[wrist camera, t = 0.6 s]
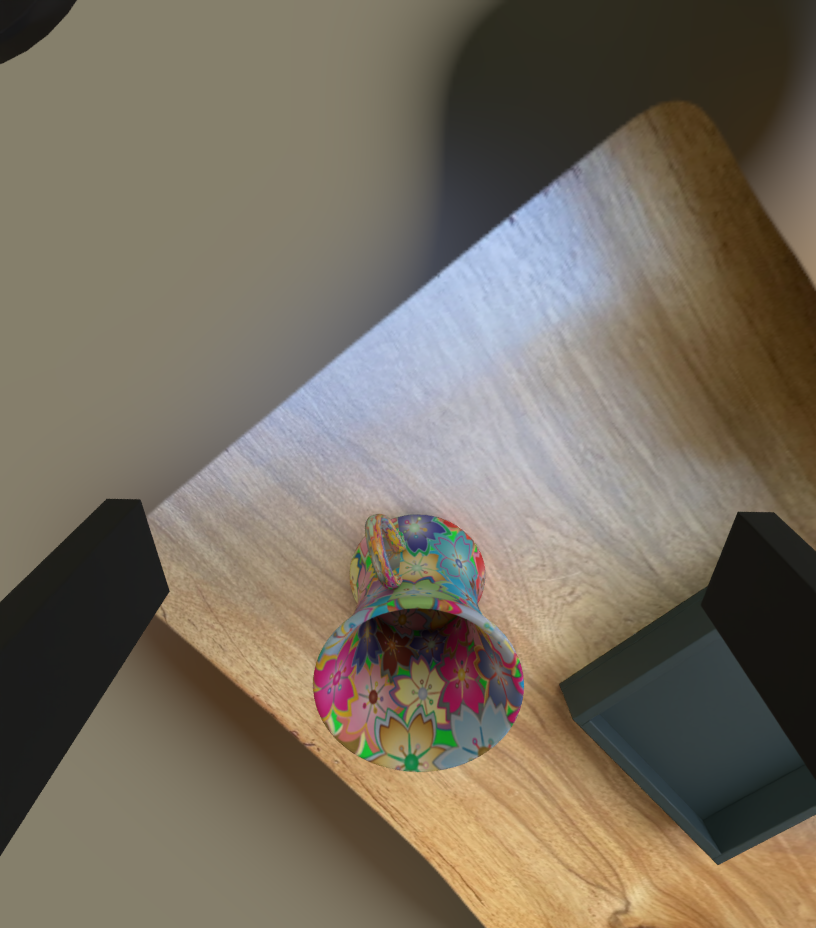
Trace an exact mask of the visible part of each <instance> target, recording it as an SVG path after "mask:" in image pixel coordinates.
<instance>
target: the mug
mask: <svg viewBox="0 0 816 928" xmlns="http://www.w3.org/2000/svg"><path fill="white" fill-rule="evenodd" d="M350 585H351V589H352V593H353V596H354V598H355V600H356V602H357V604H358V605H357V608H356V611H355V613H354V614H353V615H352V617H350V618H349V619H348V620H347V621H345V622H344V623H343V624H342V625H341V626H340V627H339V628H337V629H336V630H335V632H334V633H333V634H332V635H331V636H330V638H329V639H328V640H327V642H326V643H325V645H324V646H323V648H322V650H321V652H320V654H319V657H318V660H317V662H316V666H315V670H314V677H313V692H314V699H315V703H316V707H317V710H318V712H319V715H320V717H321V719H322V721H323V723H324V724H325V726H326V727H327V729H328V730H329V731H330V733H331V734H332V735H333V736H334V737H335V738H336V739H337V740H338V741H339V742H340V743H341V744H342V745H343V746H344V747H345V748H347V749H348V750H350V751H351V752H352V753H354V754H356V755H357V756H359V757H361V758H363V759H365V760H367V761H369V762H371V763H374V764H377V765H379V766H383V767H386V768H390V769H395V770H400V771H409V772H429V771H438V770H444V769H448V768H452V767H456V766H459V765H462V764H465V763H467V762H469V761H472V760H474V759H475V758H477V757H479V756H481V755H483V754H484V753H486V752H487V751H489V750H490V749H491V748H492V747H494V746H495V745H496V744H497V743H498V742H499V741H500V740H501V739H502V738H503V737H504V736H505V735H506V734H507V732H508V731H509V730H510V728H511V727H512V725H513V723H514V722H515V720H516V718H517V716H518V713H519V711H520V707H521V704H522V700H523V693H524V679H523V672H522V667H521V664H520V661H519V658H518V656H517V654H516V652H515V649H514V648H513V646H512V644H511V643H510V641H509V640H508V639H507V637H506V636H505V635H504V634H503V633H502V632H501V631H500V630H499V629H498V627H497V626H495V625H494V624H493V623H492V622H491V621H489V620H488V619H487V618H485V617H484V616H483V615H482V613H481V612H480V610H479V607H478V602H479V600H480V598H481V596H482V593H483V589H484V585H485V566H484V561H483V558H482V555H481V553H480V551H479V549H478V547H477V546H476V544H475V543H474V542H473V540H472V539H471V538H470V537H469V536H468V535H467V534H466V533H465V532H464V531H463V530H462V529H460V528H459V527H457V526H456V525H454V524H452V523H451V522H448V521H446V520H444V519H441V518H438V517H433V516H428V515H407V516H401V517H397V518H394V519H391V520H390V519H389V518H388V517H387V516H385V515H383V514H376V515H373V516H370V517H369V518H368V519H367V521H366V524H365V537H364V539H363V540H362V541H361V542H360V544H359V545H358V547H357V549H356V551H355V553H354V555H353V558H352V561H351V565H350Z"/></svg>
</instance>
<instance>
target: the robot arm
mask: <svg viewBox="0 0 816 928" xmlns="http://www.w3.org/2000/svg"><path fill="white" fill-rule="evenodd" d="M169 592H170V591H169V588H168V585H167V581H166V578H165V575H164V572H163V569H162V566H161V563H160V559H159V556H158V553H157V550H156V547H155V544H154V540H153V537H152V534H151V531H150V528H149V525H148V522H147V518H146V515H145V512H144V509H143V506H142V503H141V500H137V499H134V500H133V499H106V500H105V501H104V502H103V503H102V504H101V505H100V506H99V507H98V508H97V509H96V510H95V511H94V512H93V513H92V514H91V515H90V516H89V517H88V518H87V519H86V520H85V521H84V522H83V523H82V524H80V525H79V527H77V528H76V529H75V530H74V531H73V532H72V533H71V534H70V535H69V536H68V537H67V538H66V539H65V540H64V541H63V542H62V543H61V544H60V545H59V546H58V547H57V548H56V549H55V550H54V551H53V552H51V554H50V555H48V556H47V557H46V558H45V559H44V560H43V561H42V562H41V563H40V564H39V565H38V566H37V567H36V568H35V569H34V570H33V571H32V572H31V573H30V574H29V575H28V576H27V577H26V578H25V579H24V580H23V581H21V582H20V583H19V584H18V585H17V586H16V587H15V588H14V589H13V590H12V591H11V592H10V593H9V594H8V595H7V596H6V597H5V598H4V599H3V600H2V601H1V602H0V856H1V854H2V853H3V851H4V849H5V848H6V846H7V845H8V843H9V842H10V840H11V838H12V837H13V835H14V834H15V832H16V831H17V829H18V828H19V826H20V824H21V823H22V821H23V820H24V818H25V817H26V815H27V813H28V812H29V810H30V809H31V807H32V805H33V804H34V803H35V800H36V799H37V798H38V796H39V795H40V793H41V792H42V790H43V788H44V787H45V785H46V784H47V782H48V780H49V779H50V778H51V776H52V774H53V773H54V771H55V770H56V768H57V766H58V765H59V763H60V762H61V760H62V759H63V757H64V755H65V754H66V753H67V751H68V749H69V748H70V746H71V745H72V743H73V742H74V740H75V738H76V737H77V735H78V734H79V732H80V731H81V729H82V727H83V726H84V724H85V723H86V721H87V720H88V718H89V717H90V715H91V713H92V712H93V710H94V709H95V707H96V706H97V704H98V702H99V701H100V699H101V698H102V696H103V695H104V693H105V692H106V690H107V688H108V687H109V685H110V684H111V682H112V681H113V679H114V677H115V676H116V674H117V673H118V671H119V670H120V668H121V667H122V665H123V663H124V662H125V660H126V659H127V657H128V656H129V654H130V652H131V651H132V649H133V647H134V646H135V645H136V643H137V641H138V640H139V638H140V637H141V635H142V634H143V632H144V631H145V629H146V627H147V626H148V624H149V623H150V621H151V620H152V618H153V617H154V615H155V613H156V612H157V610H158V609H159V607H160V606H161V604H162V602H163V601H164V599H165V598H166V596H167V595H168V593H169ZM701 607H702V608H703V610H704V611H705V613H706V614H707V616H708V617H709V619H710V620H711V622H712V623H713V625H714V626H715V628H716V630H717V631H718V633H719V634H720V636H721V637H722V639H723V640H724V642H725V643H726V645H727V646H728V648H729V649H730V651H731V652H732V654H733V655H734V657H735V658H736V660H737V661H738V663H739V664H740V666H741V668H742V669H743V671H744V672H745V674H746V675H747V677H748V678H749V680H750V681H751V683H752V684H753V686H754V687H755V689H756V690H757V692H758V693H759V695H760V696H761V698H762V699H763V701H764V702H765V704H766V705H767V707H768V709H769V710H770V712H771V713H772V715H773V716H774V718H775V719H776V721H777V722H778V724H779V725H780V727H781V728H782V730H783V731H784V733H785V734H786V736H787V737H788V739H789V740H790V742H791V743H792V745H793V747H794V748H795V750H796V751H797V753H798V754H799V756H800V757H801V759H802V760H803V762H804V763H805V765H806V766H807V768H808V769H809V771H810V772H811V774H812V775H813V777H814V778H815V780H816V551H815V550H814V549H813V548H812V547H811V546H809V545H808V544H807V543H806V542H805V541H804V540H803V539H802V538H801V537H800V536H799V535H798V534H797V533H795V532H794V531H793V530H792V529H791V528H790V527H789V526H788V525H787V524H786V523H785V522H784V521H783V520H782V519H780V518H779V517H778V516H777V515H776V514H775V513H774V512H738V513H737V515H736V518H735V520H734V523H733V525H732V528H731V530H730V533H729V535H728V538H727V540H726V542H725V545H724V547H723V550H722V552H721V555H720V557H719V560H718V562H717V565H716V567H715V570H714V572H713V575H712V577H711V580H710V582H709V585H708V587H707V590H706V592H705V595H704V597H703V600H702V602H701Z"/></svg>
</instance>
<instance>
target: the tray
mask: <svg viewBox="0 0 816 928" xmlns="http://www.w3.org/2000/svg"><path fill="white" fill-rule="evenodd" d="M707 587H708V586H707ZM707 587H706V588H704V589H703V590H701V591H700V592H698V593H697V594H695V595H694V596H692V597H691V598H689V599H687V600H686V601H684V602H683V603H681V604H680V605H678V606H677V607H675V608H674V609H672V610H671V611H669V612H668V613H666V614H665V615H663V616H662V617H660V618H659V619H657V620H656V621H654V622H653V623H651V624H650V625H648V626H647V627H645V628H644V629H642V630H641V631H639V632H637V633H636V634H634V635H633V636H631V637H630V638H628V639H627V640H625V641H624V642H622V643H621V644H619V645H618V646H616V647H615V648H613V649H612V650H610V651H609V652H607V653H606V654H604V655H603V656H601V657H600V658H598V659H597V660H595V661H594V662H592V663H591V664H589V665H587V666H586V667H584V668H583V669H581V670H580V671H578V672H577V673H575V674H574V675H572V676H571V677H569V678H568V679H566V680H565V681H563V682H562V683H560V684H559V685H560V687H561V690H562V692H563V695H564V698H565V700H566V703H567V705H568V708H569V711H570V713H571V716H572V719H573V720H574V721H575V722H576V723H577V724H578V725H579V726H580V727H581V728H582V729H583V730H584V731H585V732H586V733H587V734H588V735H589V736H590V737H591V738H592V739H593V740H594V741H595V742H596V743H597V744H598V745H599V746H600V747H601V748H602V749H603V750H604V751H605V752H606V753H607V754H608V755H609V756H610V757H611V758H612V759H613V760H614V761H615V762H616V763H617V764H618V765H619V766H620V767H621V768H622V769H623V770H624V771H625V772H626V773H627V774H628V775H629V776H630V777H631V778H632V779H633V780H634V781H635V782H636V783H637V784H638V785H639V786H640V787H641V788H642V789H643V790H644V791H645V792H646V793H647V794H648V795H649V796H650V797H651V798H652V799H653V800H654V801H655V802H656V803H657V804H658V805H659V806H660V807H661V808H662V809H663V810H664V811H665V812H666V813H667V814H668V815H669V816H670V817H671V818H672V819H673V820H674V821H675V822H676V823H677V824H678V825H679V826H680V827H681V828H682V829H683V830H684V831H685V832H686V833H687V834H688V836H689V837H690V838H691V839H692V840H693V841H694V842H695V843H696V844H697V845H698V846H699V847H700V848H701V849H702V850H703V851H704V852H705V853H706V854H707V855H708V856H709V857H710V858H711V859H712V860H713V861H714V862H715V863H716V864H717V865H719V864H721V863H723V862H725V861H727V860H729V859H731V858H733V857H735V856H737V855H739V854H741V853H742V852H744V851H746V850H748V849H750V848H752V847H754V846H756V845H758V844H760V843H762V842H764V841H766V840H768V839H770V838H771V837H773V836H775V835H777V834H779V833H781V832H783V831H785V830H787V829H789V828H791V827H793V826H795V825H797V824H799V823H800V822H802V821H804V820H806V819H808V818H810V817H812V816H814V815H816V780H815V778H814V777H813V775H812V774H811V772H810V771H809V769H808V768H807V766H806V765H805V763H804V762H803V760H802V759H801V757H800V756H799V754H798V753H797V751H796V750H795V748H794V747H793V745H792V743H791V742H790V740H789V739H788V737H787V736H786V734H785V733H784V731H783V730H782V728H781V727H780V725H779V724H778V722H777V721H776V719H775V718H774V716H773V715H772V713H771V712H770V710H769V709H768V707H767V705H766V704H765V702H764V701H763V699H762V698H761V696H760V695H759V693H758V692H757V690H756V689H755V687H754V686H753V684H752V683H751V681H750V680H749V678H748V677H747V675H746V674H745V672H744V671H743V669H742V668H741V666H740V664H739V663H738V661H737V660H736V658H735V657H734V655H733V654H732V652H731V651H730V649H729V648H728V646H727V645H726V643H725V642H724V640H723V639H722V637H721V636H720V634H719V633H718V631H717V630H716V628H715V626H714V625H713V623H712V622H711V620H710V619H709V617H708V616H707V614H706V613H705V611H704V610H703V608H702V607H701V602H702V600H703V597H704V595H705V592H706V590H707Z"/></svg>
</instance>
